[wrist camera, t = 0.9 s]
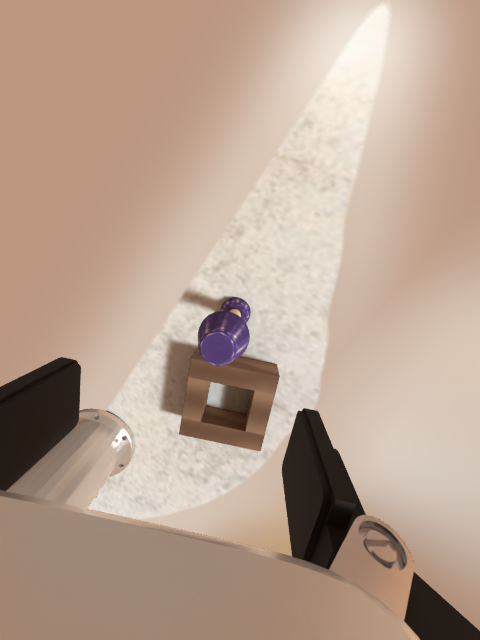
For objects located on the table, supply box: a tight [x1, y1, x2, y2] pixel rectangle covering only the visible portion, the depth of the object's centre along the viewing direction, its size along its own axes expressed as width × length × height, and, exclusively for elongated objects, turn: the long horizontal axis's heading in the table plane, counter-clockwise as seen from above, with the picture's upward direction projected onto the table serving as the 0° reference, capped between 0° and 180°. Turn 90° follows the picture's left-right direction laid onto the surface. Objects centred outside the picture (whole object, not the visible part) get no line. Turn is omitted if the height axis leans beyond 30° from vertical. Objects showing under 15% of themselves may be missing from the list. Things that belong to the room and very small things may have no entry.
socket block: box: [179, 348, 279, 451], centre depth 36 cm, size 12×12×4 cm
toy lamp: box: [198, 298, 250, 366], centre depth 27 cm, size 5×5×17 cm
